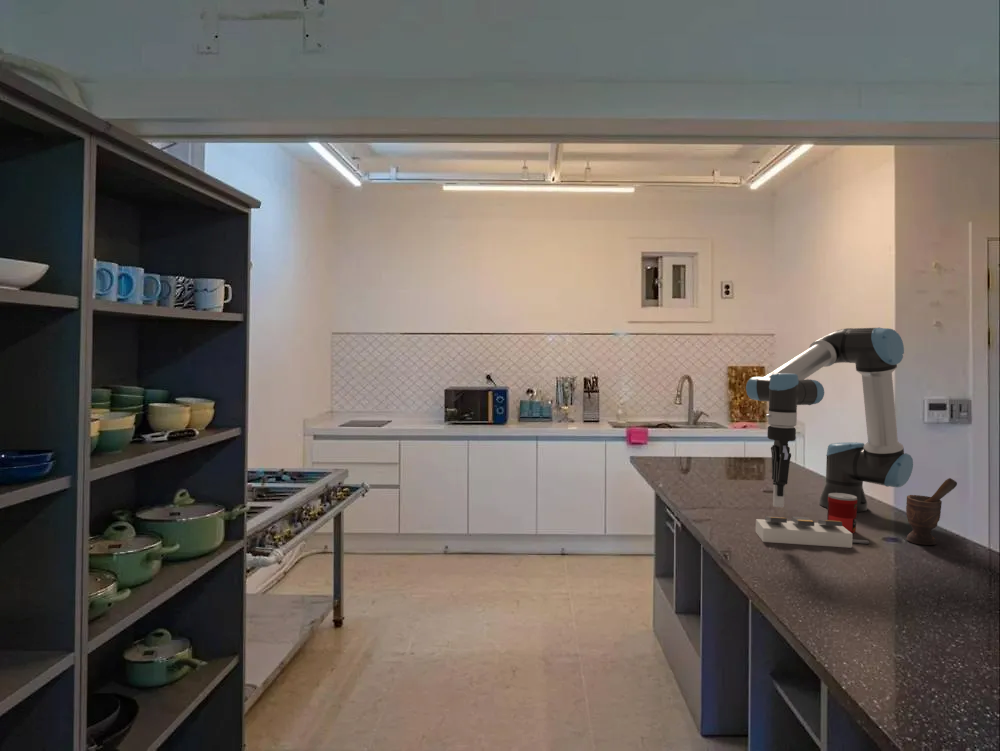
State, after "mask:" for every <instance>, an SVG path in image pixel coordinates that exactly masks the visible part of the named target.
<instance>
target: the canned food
mask: <svg viewBox="0 0 1000 751" xmlns="http://www.w3.org/2000/svg"><path fill="white" fill-rule="evenodd" d="M826 513H827V515H826V516H827V517H826V520H834V521H841V522H842V526H843V527H845V528H846V529H847V530H848V531H850V532H851V533H852V534H854V533H855V532H856V530H857V516H858V514H857V497H856V496H854V495H850V494H845V493H830V494H828V508H827V512H826Z"/></svg>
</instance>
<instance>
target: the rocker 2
mask: <svg viewBox="0 0 1000 751" xmlns="http://www.w3.org/2000/svg"><path fill="white" fill-rule="evenodd" d="M817 523H818V524H822V525H830V526H842V522H841V521H834V520H827V519H818V520H817Z"/></svg>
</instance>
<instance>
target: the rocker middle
mask: <svg viewBox="0 0 1000 751" xmlns="http://www.w3.org/2000/svg"><path fill="white" fill-rule="evenodd" d="M790 521H793V522H794V523H796V524H797V525H804V526H814V523H815V521H813V520H812V519H810V518H809V517H808V516H791V519H790Z"/></svg>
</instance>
